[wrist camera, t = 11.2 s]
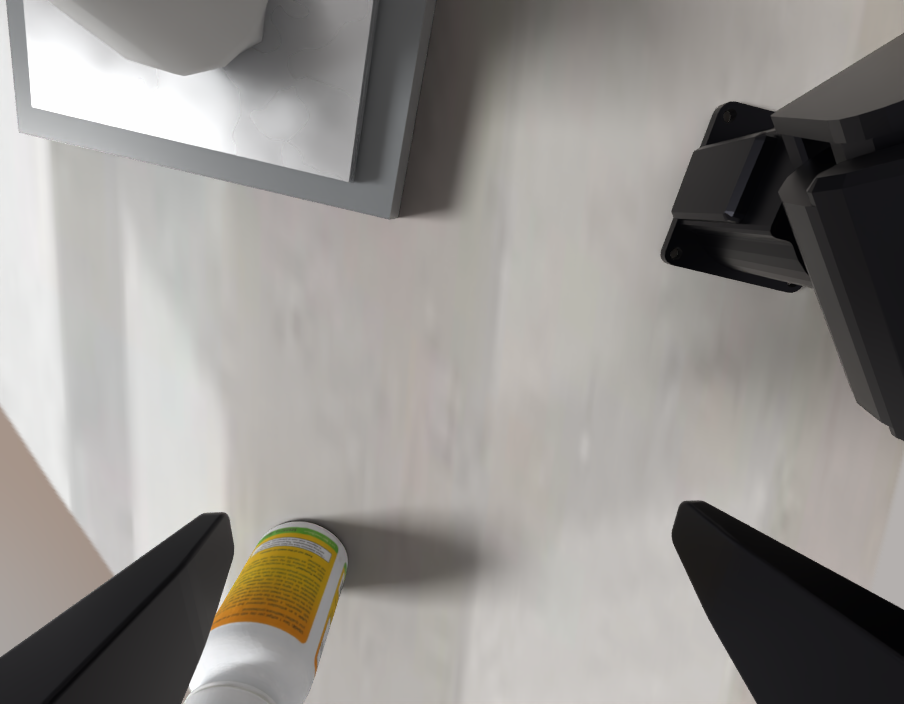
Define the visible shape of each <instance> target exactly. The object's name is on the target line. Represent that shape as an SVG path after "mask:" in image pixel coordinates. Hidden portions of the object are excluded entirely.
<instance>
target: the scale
mask: <svg viewBox="0 0 904 704" xmlns="http://www.w3.org/2000/svg"><path fill="white" fill-rule="evenodd" d="M6 5H7V16H8V26H9V37H10V47H11V58H12V68H13V79H14V89H15V100H16V110H17V121H18V131H19V133H23V134H27V135H31V136H36V137H40V138H44V139H48V140H53V141H57V142H61V143H66V144H70V145H74V146H78V147H83V148H87V149H91V150H95V151H100V152H104V153H108V154H112V155H117V156H121V157H125V158H129V159H134V160H138V161H142V162H146V163H151V164H155V165H159V166H164V167H168V168H172V169H176V170H181V171H185V172H189V173H193V174H198V175H202V176H206V177H210V178H215V179H219V180H223V181H227V182H232V183H236V184H240V185H244V186H249V187H253V188H257V189H262V190H266V191H270V192H274V193H279V194H283V195H287V196H291V197H296V198H300V199H304V200H308V201H313V202H317V203H321V204H325V205H330V206H334V207H338V208H342V209H347V210H351V211H355V212H360V213H364V214H368V215H372V216H377V217H381V218H385V219H395V218H398V216H399V210H400V205H401V199H402V193H403V188H404V182H405V176H406V171H407V165H408V159H409V153H410V148H411V142H412V136H413V131H414V125H415V119H416V114H417V108H418V102H419V97H420V91H421V85H422V80H423V74H424V68H425V62H426V57H427V51H428V45H429V40H430V34H431V28H432V23H433V17H434V11H435V6H436V0H379V7H378V14H377V22H376V29H375V36H374V43H373V50H372V57H371V64H370V72H369V79H368V86H367V93H366V100H365V107H364V114H363V122H362V129H361V136H360V143H359V150H358V157H357V165H356V172H355V179H354V183H350V182H346V181H342V180H338V179H333V178H329V177H325V176H321V175H317V174H312V173H308V172H304V171H300V170H296V169H291V168H287V167H283V166H279V165H275V164H271V163H266V162H262V161H258V160H254V159H250V158H245V157H241V156H237V155H233V154H229V153H224V152H220V151H216V150H212V149H208V148H203V147H199V146H195V145H191V144H187V143H182V142H178V141H174V140H170V139H166V138H161V137H157V136H153V135H149V134H145V133H140V132H136V131H132V130H128V129H124V128H119V127H115V126H111V125H107V124H103V123H98V122H94V121H90V120H86V119H82V118H77V117H73V116H69V115H65V114H61V113H57V112H52V111H48V110H44V109H40V108H36V107H32V98H31V87H30V75H29V63H28V51H27V39H26V28H25V16H24V4H23V0H6Z"/></svg>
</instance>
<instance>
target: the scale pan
mask: <svg viewBox="0 0 904 704" xmlns="http://www.w3.org/2000/svg"><path fill="white" fill-rule="evenodd" d="M23 4H24V16H25V28H26V39H27V51H28V63H29V75H30V87H31V98H32V107H36V108H40V109H44V110H48V111H52V112H57V113H61V114H65V115H69V116H73V117H77V118H82V119H86V120H90V121H94V122H98V123H103V124H107V125H111V126H115V127H119V128H124V129H128V130H132V131H136V132H140V133H145V134H149V135H153V136H157V137H161V138H166V139H170V140H174V141H178V142H182V143H187V144H191V145H195V146H199V147H203V148H208V149H212V150H216V151H220V152H224V153H229V154H233V155H237V156H241V157H245V158H250V159H254V160H258V161H262V162H266V163H271V164H275V165H279V166H283V167H287V168H291V169H296V170H300V171H304V172H308V173H312V174H317V175H321V176H325V177H329V178H333V179H338V180H342V181H346V182H350V183H354V179H355V172H356V165H357V157H358V150H359V143H360V136H361V129H362V122H363V114H364V107H365V100H366V93H367V86H368V79H369V72H370V64H371V57H372V50H373V43H374V36H375V29H376V22H377V14H378V7H379V0H268V3H267V7H266V13H265V22H264V31H263V40H262V42H260V43H258V44H256V45H254V46H253V47H251V48H249V49H247V50H245V51H244V52H242V53H240V54H238V55H237V56H236V57H235V58H234V59H233V60H232V61H231V62H230V63H228V64H227V65H226V66H225V67H222V68H218V69H213V70H209V71H205V72H201V73H196V74H192V75H188V76H181V75H177V74H173V73H169V72H166V71H163V70H160V69H156V68H153V67H150V66H146V65H143V64H140V63H137V62H133V61H130V60H127V59H125V58H124V57H123V56H121V55H120V54H119V53H117V52H116V51H115V50H113V49H112V48H111V47H109V46H108V45H107V44H105V43H104V42H103V41H101V40H100V39H98V38H97V37H96V36H94V35H93V34H92V33H90V32H89V31H88V30H86V29H85V28H84V27H82V26H81V25H80V24H78V23H77V22H75V21H74V20H73V19H71V18H70V17H69V16H67V15H66V14H65V13H63V12H62V11H61V10H59V9H58V8H57V7H55V6H54V5H52V4H51V3H50V2H48V1H47V0H23Z"/></svg>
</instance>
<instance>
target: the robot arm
mask: <svg viewBox="0 0 904 704" xmlns="http://www.w3.org/2000/svg"><path fill="white" fill-rule="evenodd" d="M726 111H728V112H730V115H731V117H730V120H729V122H728V123H727V122H725V121H724V118H723V116H724V113H725V112H726ZM672 214H673V217H674V218H673V221H672V223H671V226H670V229H669V231H668V234H667V237H666V239H665V242H664V245H663V247H662V250H661V259H662V260H663V261H664V262H665V263H667V264H670V265H674V266H678V267H683V268H687V269H691V270H695V271H699V272H704V273H708V274H712V275H716V276H721V277H725V278H729V279H733V280H737V281H742V282H746V283H750V284H754V285H758V286H763V287H767V288H771V289H775V290H779V291H784V292H788V293H793V292H796V291H798V290H799V289H800V288H801V287H802V286H805V287H810V288H814V291H815V293H816V296H817V299H818V301H819V304H820V307H821V309H822V312H823V315H824V318H825V320H826V323H827V326H828V328H829V331H830V334H831V336H832V339H833V342H834V345H835V347H836V350H837V353H838V355H839V358H840V361H841V363H842V366H843V369H844V372H845V374H846V377H847V380H848V382H849V385H850V387H851V390H852V392H853V394H854V397H855V399H856V401H857V403H858V404H859V405H860V406H862V407H863V408H864V409H865V410H867V411H868V412H869V413H870V414H872V415H873V416H874V417H875V418H877V419H878V420H879V421H880V422H882V423H884V424H886V425H888V426H889V428H890V431H891V434H892V435H893V436H895V437H896V438H898V439H901V440H903V441H904V33H903V34H901V35H900V36H898V37H896V38H895V39H893V40H892V41H890V42H888V43H887V44H885V45H883V46H882V47H880V48H879V49H877V50H875V51H874V52H872V53H870V54H869V55H867V56H866V57H864V58H862V59H861V60H859V61H857V62H856V63H854V64H853V65H851V66H849V67H848V68H846V69H844V70H843V71H841V72H840V73H838V74H836V75H835V76H833V77H831V78H830V79H828V80H827V81H825V82H823V83H822V84H820V85H818V86H817V87H815V88H814V89H812V90H810V91H809V92H807V93H805V94H804V95H802V96H801V97H799V98H797V99H796V100H794V101H792V102H791V103H789V104H788V105H786V106H784V107H783V108H781V109H779V110H778V111H776V112H773V111H769V110H765V109H761V108H758V107H754V106H750V105H746V104H742V103H739V102H728V103H725V104H723V105H720V106H719V107H718V108H717V109H716V110H715V111H714V113H713V115H712V117H711V120H710V123H709V125H708V128H707V131H706V133H705V136H704V138H703V141H702V144H701V146H700V148H699V149H697V150H696V151H694V152H693V155H692V157H691V160H690V163H689V165H688V168H687V171H686V173H685V176H684V179H683V181H682V184H681V187H680V189H679V192H678V195H677V197H676V200H675V203H674V205H673V208H672ZM674 248H677V250H678V254H677V255H676V257H674V258H671V256H670V254H671V251H672V250H673V249H674ZM787 282H788V283H791V284H789V285H788V284H787ZM672 541H673V544H674V546H675V549H676V551H677V553H678V555H679V557H680V559H681V562H682V564H683V566H684V568H685V570H686V572H687V574H688V577H689V579H690V581H691V583H692V585H693V587H694V590H695V592H696V594H697V596H698V598H699V600H700V602H701V605H702V607H703V609H704V611H705V613H706V615H707V617H708V619H709V621H710V622H711V624H712V626H713V628H714V630H715V632H716V633H717V635H718V637H719V639H720V640H721V642H722V644H723V646H724V647H725V649H726V651H727V653H728V654H729V656H730V658H731V659H732V661H733V663H734V665H735V666H736V668H737V670H738V672H739V673H740V675H741V677H742V679H743V680H744V682H745V684H746V686H747V687H748V689H749V691H750V693H751V694H752V696H753V698H754V700H755V701H756V703H757V704H904V610H903V609H901V608H899V607H898V606H896V605H894V604H892V603H890V602H888V601H887V600H885V599H883V598H881V597H879V596H878V595H876V594H874V593H872V592H870V591H868V590H866V589H865V588H863V587H861V586H859V585H857V584H855V583H854V582H852V581H850V580H848V579H846V578H844V577H843V576H841V575H839V574H837V573H835V572H833V571H831V570H830V569H828V568H826V567H824V566H822V565H820V564H819V563H817V562H815V561H813V560H811V559H809V558H808V557H806V556H804V555H802V554H800V553H798V552H796V551H795V550H793V549H791V548H789V547H787V546H785V545H784V544H782V543H780V542H778V541H776V540H774V539H773V538H771V537H769V536H767V535H765V534H763V533H761V532H760V531H758V530H756V529H754V528H752V527H750V526H749V525H747V524H745V523H743V522H741V521H739V520H738V519H736V518H734V517H732V516H730V515H728V514H727V513H725V512H723V511H721V510H719V509H717V508H715V507H714V506H712V505H710V504H708V503H706V502H704V501H699V500H698V501H684V502H682V503H681V504H680V505H679V508H678V512H677V515H676V518H675V522H674V525H673V529H672ZM233 555H234V543H233V537H232V531H231V525H230V519H229V516H228V515H227V514H226V513H224V512H215V513H203V514H201V515H199V516H198V517H197V518H195V519H194V520H192V521H191V522H190V523H188V524H187V525H185V526H184V527H182V528H181V529H180V530H178V531H177V532H175V533H174V534H173V535H171V536H170V537H168V538H167V539H166V540H164V541H163V542H161V543H160V544H159V545H157V546H156V547H154V548H153V549H152V550H150V551H149V552H147V553H146V554H145V555H143V556H142V557H140V558H139V559H138V560H136V561H135V562H133V563H132V564H131V565H129V566H128V567H126V568H125V569H124V570H122V571H121V572H119V573H118V574H117V575H115V576H114V577H112V578H111V579H110V580H108V581H107V582H105V583H104V584H103V585H101V586H100V587H98V588H97V589H96V590H94V591H93V592H91V593H90V594H89V595H87V596H86V597H84V598H83V599H81V600H80V601H79V602H77V603H76V604H75V605H73V606H72V607H70V608H69V609H67V610H66V611H65V612H63V613H62V614H60V615H59V616H58V617H56V618H55V619H53V620H52V621H51V622H49V623H48V624H46V625H45V626H44V627H42V628H41V629H39V630H38V631H37V632H35V633H34V634H32V635H31V636H30V637H28V638H27V639H25V640H24V641H22V642H21V643H20V644H18V645H17V646H15V647H14V648H13V649H11V650H10V651H9V652H7V653H6V654H4V655H3V656H1V657H0V704H181V703H182V700H183V698H184V696H185V693H186V691H187V689H188V686H189V684H190V682H191V679H192V677H193V675H194V672H195V670H196V668H197V665H198V663H199V660H200V658H201V655H202V653H203V650H204V648H205V645H206V642H207V639H208V636H209V633H210V630H211V627H212V624H213V621H214V618H215V614H216V611H217V608H218V605H219V602H220V598H221V595H222V592H223V589H224V586H225V582H226V579H227V576H228V573H229V570H230V567H231V563H232V560H233Z"/></svg>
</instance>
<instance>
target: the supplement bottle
mask: <svg viewBox="0 0 904 704" xmlns="http://www.w3.org/2000/svg"><path fill="white" fill-rule="evenodd" d="M347 567H348V557H347V553H346V550H345V548H344V546H343V545H342V543H341V542H340V541H339V539H338V538H337V537H336V536H335V535H333V534H332V533H331V532H329V531H328V530H326V529H325V528H323V527H321V526H318V525H316V524H313V523H308V522H288V523H284V524H281V525H278V526H276V527H274V528H272V529H271V530H269V531H268V532H267V533H266V534H265V535H264V536H263V537H262V538H261V540H260V541H259V543H258V544H257V546H256V548H255V549H254V551H253V553H252V554H251V556H250V558H249V559H248V561H247V563H246V565H245V566H244V568H243V570H242V571H241V573H240V575H239V577H238V578H237V580H236V582H235V583H234V585H233V587H232V588H231V590H230V592H229V593H228V595H227V597H226V598H225V600H224V602H223V604H222V605H221V607H220V609H219V610H218V612H217V613H216V615H215V618H214V621H213V624H212V627H211V630H210V633H209V636H208V639H207V642H206V645H205V648H204V650H203V653H202V655H201V658H200V660H199V663H198V665H197V668H196V670H195V672H194V675H193V677H192V679H191V682H190V684H189V685H190V689H191V691H192V692H191V693H190V694H189V695H188V697H187V699H186V701H185V702H184V703H183V704H303V702H304V701H305V699H306V697H307V695H308V694H309V691H310V689H311V686H312V683H313V680H314V677H315V674H316V671H317V667H318V664H319V661H320V658H321V654H322V651H323V648H324V645H325V641H326V638H327V635H328V632H329V629H330V625H331V622H332V619H333V616H334V612H335V609H336V606H337V603H338V600H339V596H340V593H341V590H342V587H343V583H344V580H345V577H346V572H347Z"/></svg>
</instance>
